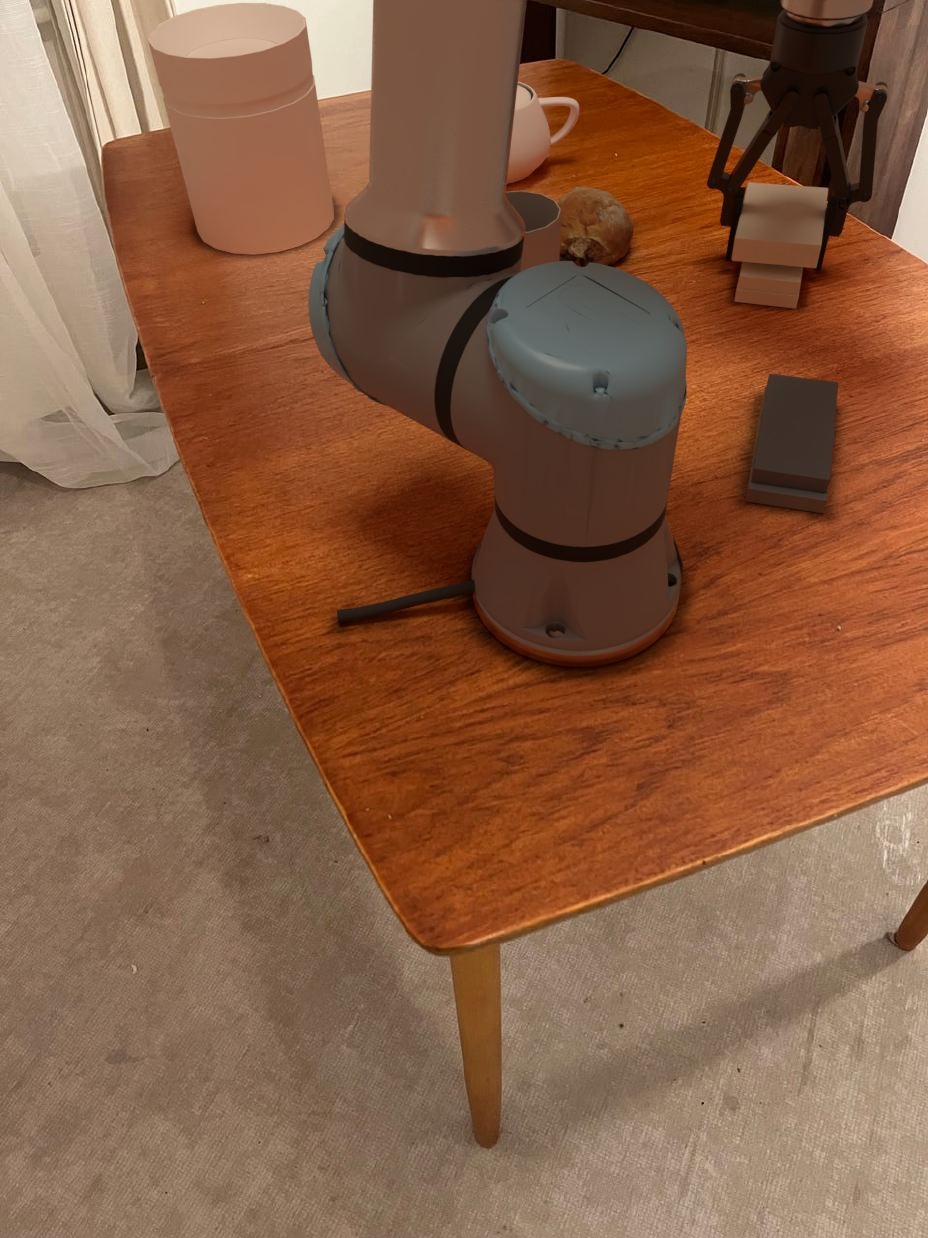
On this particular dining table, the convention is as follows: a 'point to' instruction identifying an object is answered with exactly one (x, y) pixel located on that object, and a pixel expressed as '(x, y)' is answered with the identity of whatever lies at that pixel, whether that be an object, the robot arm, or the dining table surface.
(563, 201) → the bread roll
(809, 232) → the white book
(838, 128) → the robot arm
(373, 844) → the dining table surface
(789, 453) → the grey stack
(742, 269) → the white stack
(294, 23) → the canister
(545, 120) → the teapot
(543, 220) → the cup
